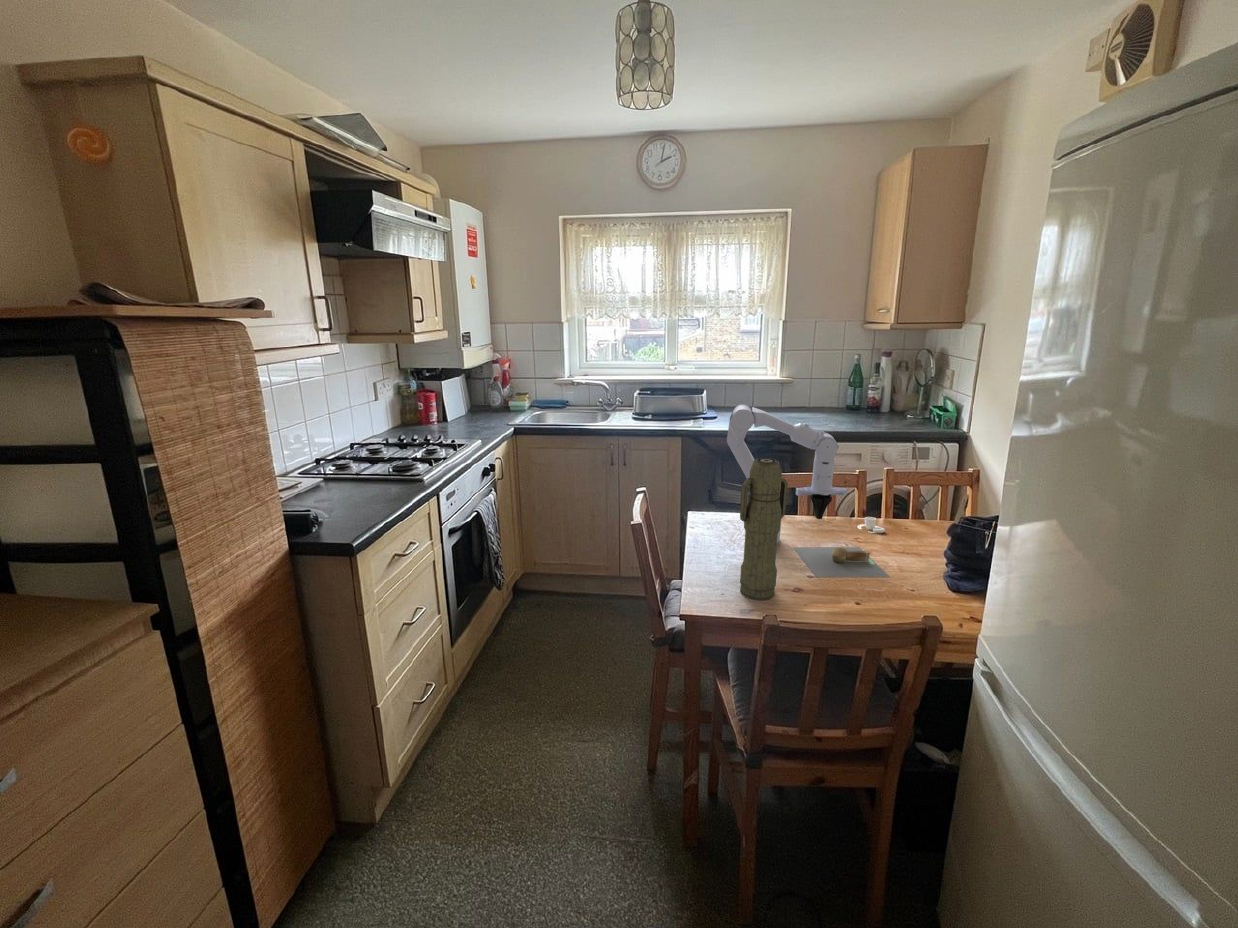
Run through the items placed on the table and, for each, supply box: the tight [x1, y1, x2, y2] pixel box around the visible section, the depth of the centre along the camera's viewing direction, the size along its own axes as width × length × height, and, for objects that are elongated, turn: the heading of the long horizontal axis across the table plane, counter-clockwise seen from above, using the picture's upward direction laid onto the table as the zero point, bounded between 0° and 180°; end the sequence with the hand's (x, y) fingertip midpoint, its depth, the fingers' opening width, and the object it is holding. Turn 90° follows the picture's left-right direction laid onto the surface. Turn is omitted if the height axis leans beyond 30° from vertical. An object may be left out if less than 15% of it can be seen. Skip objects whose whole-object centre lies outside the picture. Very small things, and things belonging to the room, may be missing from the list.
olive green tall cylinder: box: [739, 457, 789, 601], centre depth 142 cm, size 9×12×35 cm
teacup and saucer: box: [857, 516, 886, 534], centre depth 189 cm, size 9×8×4 cm
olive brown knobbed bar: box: [832, 546, 871, 562], centre depth 161 cm, size 10×4×3 cm, turn 85°
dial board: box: [792, 546, 891, 578], centre depth 162 cm, size 20×20×1 cm
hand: (818, 517), depth 173 cm, fingers closed
